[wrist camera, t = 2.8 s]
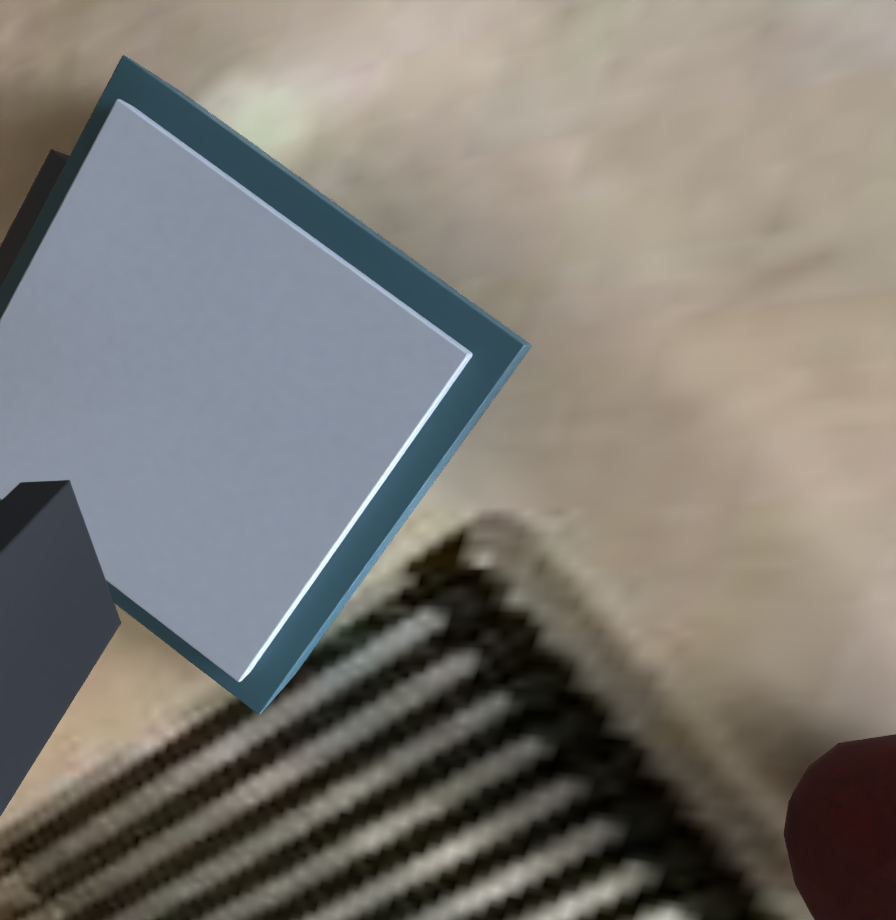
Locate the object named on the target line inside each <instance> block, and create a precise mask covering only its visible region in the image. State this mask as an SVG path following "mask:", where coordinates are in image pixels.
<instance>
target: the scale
mask: <svg viewBox="0 0 896 920" xmlns="http://www.w3.org/2000/svg"><path fill="white" fill-rule="evenodd" d="M530 348H531V344H529V343H528V342H526V341H525V340H524V339H522V338H521V337H520V336H518V335H517V334H515V333H514V332H513V331H511V330H510V329H509V328H507V327H506V326H504V325H503V324H502V323H500V322H499V321H497V320H496V319H495V318H493V317H492V316H491V315H489V314H488V313H486V312H485V311H484V310H482V309H481V308H479V307H478V306H477V305H475V304H474V303H473V302H471V301H470V300H468V299H467V298H466V297H464V296H463V295H461V294H460V293H459V292H457V291H456V290H455V289H453V288H452V287H450V286H449V285H448V284H446V283H445V282H444V281H442V280H441V279H439V278H438V277H437V276H435V275H434V274H432V273H431V272H430V271H428V270H427V269H426V268H424V267H423V266H421V265H420V264H419V263H417V262H416V261H414V260H413V259H412V258H410V257H409V256H408V255H406V254H405V253H403V252H402V251H401V250H399V249H398V248H396V247H395V246H394V245H392V244H391V243H390V242H388V241H387V240H385V239H384V238H383V237H381V236H380V235H379V234H377V233H376V232H374V231H373V230H372V229H370V228H369V227H367V226H366V225H365V224H363V223H362V222H361V221H359V220H358V219H356V218H355V217H354V216H352V215H351V214H349V213H348V212H347V211H345V210H344V209H343V208H341V207H340V206H338V205H337V204H336V203H334V202H333V201H331V200H330V199H329V198H327V197H326V196H325V195H323V194H322V193H320V192H319V191H318V190H316V189H315V188H314V187H312V186H311V185H309V184H308V183H307V182H305V181H304V180H302V179H301V178H300V177H298V176H297V175H296V174H294V173H293V172H291V171H290V170H289V169H287V168H286V167H284V166H283V165H282V164H280V163H279V162H278V161H276V160H275V159H273V158H272V157H271V156H269V155H268V154H266V153H265V152H264V151H262V150H261V149H260V148H258V147H257V146H255V145H254V144H253V143H251V142H250V141H249V140H247V139H246V138H244V137H243V136H242V135H240V134H239V133H237V132H236V131H235V130H233V129H232V128H231V127H229V126H228V125H226V124H225V123H224V122H222V121H221V120H219V119H218V118H217V117H215V116H214V115H213V114H211V113H210V112H208V111H207V110H206V109H204V108H203V107H201V106H200V105H199V104H197V103H196V102H195V101H193V100H192V99H190V98H189V97H188V96H186V95H185V94H184V93H182V92H181V91H179V90H178V89H176V88H175V87H173V86H172V85H170V84H169V83H167V82H165V81H164V80H162V79H161V78H159V77H158V76H156V75H155V74H153V73H151V72H150V71H148V70H147V69H145V68H144V67H142V66H141V65H139V64H137V63H136V62H134V61H133V60H131V59H130V58H128V57H126V56H125V55H123V56H122V58H121V60H120V61H119V63H118V65H117V67H116V69H115V71H114V73H113V75H112V77H111V79H110V81H109V82H108V84H107V86H106V88H105V90H104V92H103V94H102V96H101V98H100V100H99V102H98V103H97V105H96V107H95V109H94V111H93V113H92V115H91V117H90V119H89V121H88V123H87V124H86V126H85V128H84V130H83V132H82V134H81V136H80V138H79V140H78V142H77V144H76V145H75V147H74V149H73V151H72V153H71V155H70V156H69V155H66V154H64V153H61V152H58V151H56V150H53V149H51V150H50V152H49V154H48V156H47V158H46V160H45V162H44V163H43V165H42V167H41V169H40V171H39V173H38V175H37V177H36V179H35V181H34V183H33V185H32V187H31V189H30V191H29V192H28V194H27V196H26V198H25V200H24V202H23V204H22V206H21V208H20V210H19V212H18V214H17V216H16V218H15V220H14V222H13V223H12V225H11V227H10V229H9V231H8V233H7V235H6V237H5V239H4V241H3V243H2V245H1V247H0V501H1V500H2V499H3V498H5V497H6V496H7V495H8V494H9V493H10V492H11V491H12V490H13V489H14V488H15V487H16V486H17V485H18V484H19V483H20V482H39V481H60V480H70V482H71V485H72V488H73V491H74V493H75V496H76V499H77V502H78V505H79V507H80V510H81V513H82V516H83V518H84V521H85V524H86V527H87V529H88V532H89V535H90V538H91V541H92V543H93V546H94V549H95V552H96V554H97V557H98V560H99V563H100V565H101V568H102V571H103V574H104V577H105V579H106V582H107V585H108V588H109V590H110V593H111V596H112V599H113V601H114V603H115V604H116V605H118V606H119V607H120V608H122V609H123V610H124V611H125V612H127V613H128V614H129V615H131V616H132V617H133V618H134V619H136V620H137V621H138V622H140V623H141V624H142V625H143V626H145V627H146V628H147V629H149V630H150V631H151V632H153V633H154V634H155V635H156V636H158V637H159V638H160V639H162V640H163V641H164V642H165V643H167V644H168V645H169V646H171V647H172V648H173V649H175V650H176V651H177V652H178V653H180V654H181V655H182V656H184V657H185V658H186V659H187V660H189V661H190V662H191V663H193V664H194V665H195V666H196V667H198V668H199V669H200V670H202V671H203V672H204V673H206V674H207V675H208V676H209V677H211V678H212V679H213V680H215V681H216V682H217V683H218V684H220V685H221V686H222V687H224V688H225V689H226V690H227V691H229V692H230V693H231V694H233V695H234V696H235V697H237V698H238V699H239V700H240V701H242V702H243V703H244V704H246V705H247V706H248V707H249V708H251V709H252V710H253V711H255V712H256V713H257V714H261V713H262V712H263V710H264V709H265V708H266V707H267V706H268V705H269V704H270V702H271V701H272V700H273V699H274V698H275V697H276V696H277V694H278V693H279V692H280V691H281V690H282V689H283V688H284V686H285V685H286V684H287V683H288V682H289V681H290V680H291V679H292V677H293V676H294V675H295V674H296V672H297V671H298V670H299V668H300V667H301V665H302V664H303V663H304V661H305V660H306V659H307V657H308V656H309V654H310V653H311V652H312V650H313V649H314V647H315V646H316V645H317V643H318V642H319V640H320V639H321V638H322V636H323V635H324V634H325V632H326V631H327V629H328V628H329V627H330V625H331V624H332V622H333V621H334V620H335V618H336V617H337V615H338V614H339V613H340V611H341V610H342V609H343V607H344V606H345V604H346V603H347V602H348V600H349V599H350V597H351V596H352V595H353V593H354V592H355V591H356V589H357V588H358V586H359V585H360V584H361V582H362V581H363V579H364V578H365V577H366V575H367V574H368V572H369V571H370V570H371V568H372V567H373V566H374V564H375V563H376V561H377V560H378V559H379V557H380V556H381V554H382V553H383V552H384V550H385V549H386V548H387V546H388V545H389V543H390V542H391V541H392V539H393V538H394V536H395V535H396V534H397V532H398V531H399V529H400V528H401V527H402V525H403V524H404V523H405V521H406V520H407V518H408V517H409V516H410V514H411V513H412V511H413V510H414V509H415V507H416V506H417V505H418V503H419V502H420V500H421V499H422V498H423V496H424V495H425V493H426V492H427V491H428V489H429V488H430V486H431V485H432V484H433V482H434V481H435V480H436V478H437V477H438V475H439V474H440V473H441V471H442V470H443V468H444V467H445V466H446V464H447V463H448V461H449V460H450V459H451V457H452V456H453V455H454V453H455V452H456V450H457V449H458V448H459V446H460V445H461V443H462V442H463V441H464V439H465V438H466V437H467V435H468V434H469V432H470V431H471V430H472V428H473V427H474V425H475V424H476V423H477V421H478V420H479V418H480V417H481V416H482V414H483V413H484V412H485V410H486V409H487V407H488V406H489V405H490V403H491V402H492V400H493V399H494V398H495V396H496V395H497V394H498V392H499V391H500V389H501V388H502V387H503V385H504V384H505V382H506V381H507V380H508V378H509V377H510V375H511V374H512V373H513V371H514V370H515V369H516V367H517V366H518V364H519V363H520V362H521V360H522V359H523V357H524V356H525V355H526V353H527V352H528V351H529V349H530Z"/></svg>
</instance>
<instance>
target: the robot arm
mask: <svg viewBox="0 0 896 920" xmlns="http://www.w3.org/2000/svg"><path fill="white" fill-rule="evenodd" d="M120 624H121V621H120V618H119V615H118V612H117V610H116V607H115V604H114V601H113V599H112V596H111V593H110V590H109V588H108V585H107V582H106V579H105V577H104V574H103V571H102V568H101V565H100V563H99V560H98V557H97V554H96V552H95V549H94V546H93V543H92V541H91V538H90V535H89V532H88V529H87V527H86V524H85V521H84V518H83V516H82V513H81V510H80V507H79V505H78V502H77V499H76V496H75V493H74V491H73V488H72V485H71V482H70V480H60V481H39V482H20V483H19V484H18V485H17V486H16V487H15V488H14V489H13V490H12V491H11V492H10V493H9V494H8V495H7V496H6V497H5V498H3V499H2V500H1V501H0V816H1V815H2V813H3V811H4V810H5V808H6V807H7V805H8V803H9V802H10V800H11V799H12V797H13V795H14V794H15V792H16V791H17V789H18V787H19V786H20V784H21V782H22V781H23V779H24V778H25V776H26V774H27V773H28V771H29V770H30V768H31V766H32V765H33V763H34V762H35V760H36V758H37V757H38V755H39V754H40V752H41V750H42V749H43V747H44V746H45V744H46V742H47V741H48V739H49V738H50V736H51V734H52V733H53V731H54V730H55V728H56V726H57V725H58V723H59V722H60V720H61V718H62V717H63V715H64V714H65V712H66V710H67V709H68V707H69V706H70V704H71V702H72V701H73V699H74V698H75V696H76V694H77V693H78V691H79V690H80V688H81V686H82V685H83V683H84V682H85V680H86V678H87V677H88V675H89V674H90V672H91V670H92V669H93V667H94V666H95V664H96V662H97V661H98V659H99V658H100V656H101V654H102V653H103V651H104V650H105V648H106V646H107V645H108V643H109V642H110V640H111V638H112V637H113V635H114V634H115V632H116V630H117V629H118V627H119V626H120Z"/></svg>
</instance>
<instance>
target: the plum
mask: <svg viewBox="0 0 896 920" xmlns="http://www.w3.org/2000/svg"><path fill="white" fill-rule="evenodd" d="M784 837H785V842H786V847H787V851H788V856H789V860H790V864H791V869H792V873H793V877H794V881H795V885H796V887H797V888H798V890H799V892H800V894H801V896H802V898H803V900H804V901H805V903H806V905H807V907H808V909H809V911H810V913H811V915H812V916H813V917H814V919H815V920H896V735H889V736H883V737H876V738H870V739H863V740H857V741H850V742H844V743H838V744H837V745H836V746H834V747H833V748H832V749H830V750H829V751H828V752H827V753H825V754H824V755H823V756H821V757H820V758H819V759H818V760H816V761H815V762H814V763H812V764H811V765H810V766H809V767H808V768H807V770H806V771H805V773H804V775H803V776H802V778H801V780H800V782H799V783H798V785H797V787H796V788H795V790H794V792H793V793H792V796H791V798H790V800H789V804H788V810H787V816H786V822H785V829H784Z"/></svg>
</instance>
